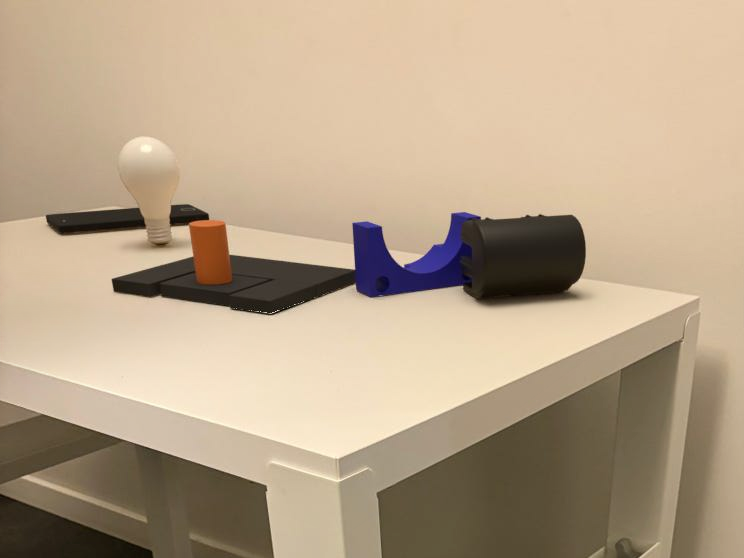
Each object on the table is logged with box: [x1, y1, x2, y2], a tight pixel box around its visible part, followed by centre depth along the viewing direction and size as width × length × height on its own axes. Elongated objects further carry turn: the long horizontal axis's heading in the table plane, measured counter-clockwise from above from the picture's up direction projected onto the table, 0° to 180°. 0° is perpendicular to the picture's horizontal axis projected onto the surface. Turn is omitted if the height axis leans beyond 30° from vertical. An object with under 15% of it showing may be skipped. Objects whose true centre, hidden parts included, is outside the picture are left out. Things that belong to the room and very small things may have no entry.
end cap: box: [460, 213, 587, 300], centre depth 90 cm, size 10×7×7 cm
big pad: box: [111, 254, 356, 313], centre depth 94 cm, size 18×14×1 cm
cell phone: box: [45, 203, 210, 234], centre depth 122 cm, size 9×18×1 cm, turn 121°
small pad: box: [159, 219, 270, 306], centre depth 90 cm, size 8×6×6 cm
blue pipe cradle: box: [351, 211, 482, 298], centre depth 94 cm, size 12×4×6 cm, turn 122°
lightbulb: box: [117, 135, 181, 247], centre depth 107 cm, size 6×6×11 cm
